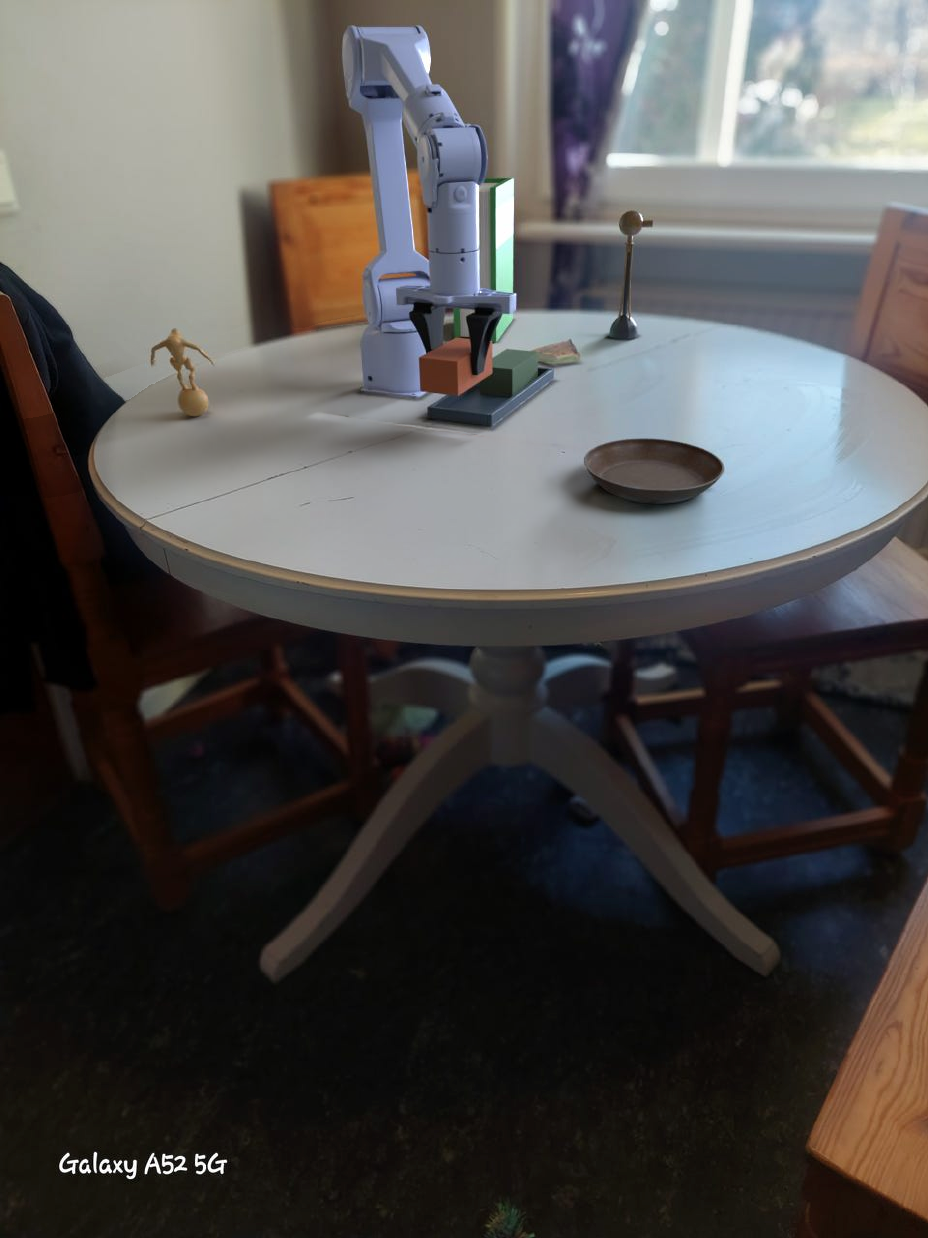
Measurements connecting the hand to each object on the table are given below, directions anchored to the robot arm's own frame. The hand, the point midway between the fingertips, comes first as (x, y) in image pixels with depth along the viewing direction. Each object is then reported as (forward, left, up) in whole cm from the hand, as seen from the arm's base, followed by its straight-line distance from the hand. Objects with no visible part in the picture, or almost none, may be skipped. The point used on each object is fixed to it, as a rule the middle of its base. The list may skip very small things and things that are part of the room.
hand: (456, 370), depth 105 cm
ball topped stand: (+5, +58, -9) cm, 59 cm away
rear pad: (-2, +21, -8) cm, 23 cm away
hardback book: (-20, +54, -9) cm, 58 cm away
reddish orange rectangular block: (0, 0, -1) cm, 1 cm away
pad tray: (-2, +16, -8) cm, 18 cm away
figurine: (-37, -6, -9) cm, 38 cm away
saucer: (+26, -6, -9) cm, 28 cm away
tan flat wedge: (-2, +40, -9) cm, 41 cm away
